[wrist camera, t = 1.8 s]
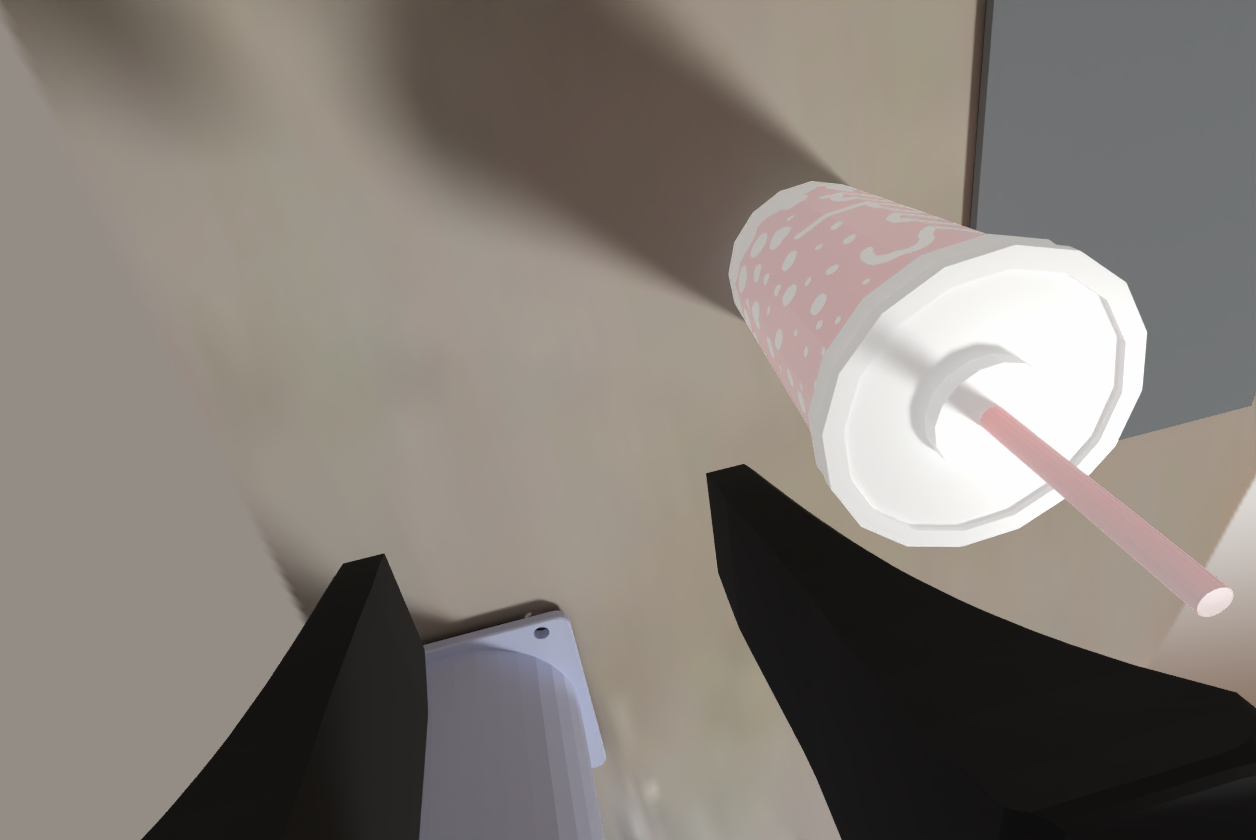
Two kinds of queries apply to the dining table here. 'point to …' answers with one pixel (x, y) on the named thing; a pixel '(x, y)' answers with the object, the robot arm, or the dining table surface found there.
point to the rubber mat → (1135, 173)
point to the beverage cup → (951, 371)
